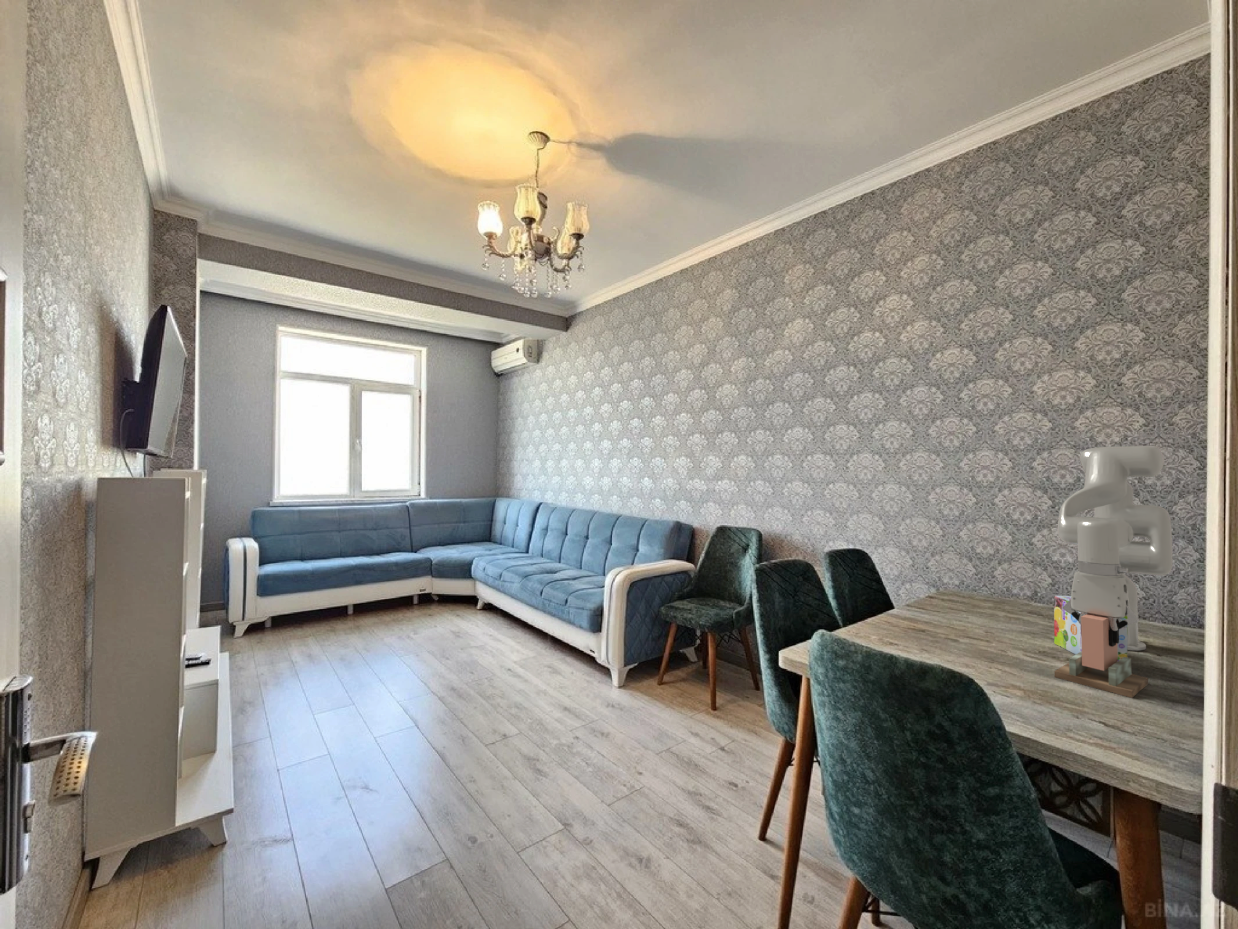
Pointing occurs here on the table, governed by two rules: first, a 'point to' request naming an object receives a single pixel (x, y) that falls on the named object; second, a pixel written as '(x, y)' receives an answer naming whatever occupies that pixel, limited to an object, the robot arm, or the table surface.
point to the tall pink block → (1097, 642)
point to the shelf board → (1103, 676)
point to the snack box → (1078, 630)
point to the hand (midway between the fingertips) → (1099, 642)
